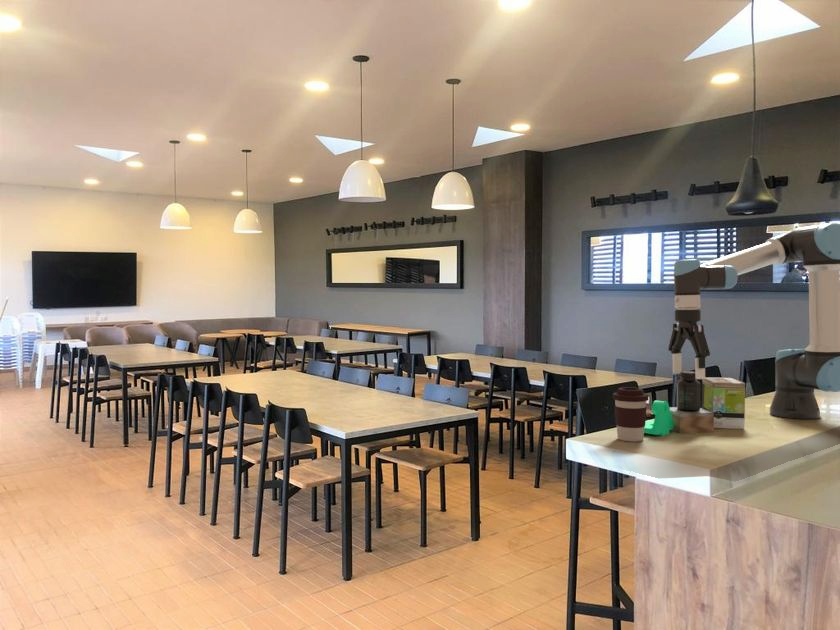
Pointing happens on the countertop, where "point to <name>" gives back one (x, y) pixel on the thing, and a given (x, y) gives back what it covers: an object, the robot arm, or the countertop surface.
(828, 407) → the countertop surface
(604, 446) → the countertop surface
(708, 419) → the walnut stand
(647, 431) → the camera mount
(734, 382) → the tea box
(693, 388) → the supplement bottle
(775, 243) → the robot arm
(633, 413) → the coffee cup
